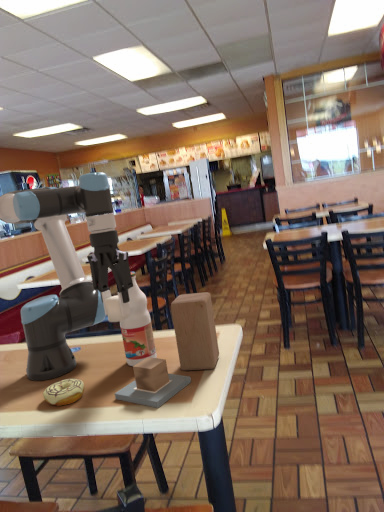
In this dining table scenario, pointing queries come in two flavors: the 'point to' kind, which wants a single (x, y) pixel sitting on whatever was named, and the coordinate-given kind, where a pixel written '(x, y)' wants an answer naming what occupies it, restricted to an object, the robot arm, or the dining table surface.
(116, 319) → the marshmallow
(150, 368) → the walnut cube
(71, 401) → the decorated donut
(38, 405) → the dining table surface
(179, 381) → the slate board
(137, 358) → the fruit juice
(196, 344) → the wooden block
